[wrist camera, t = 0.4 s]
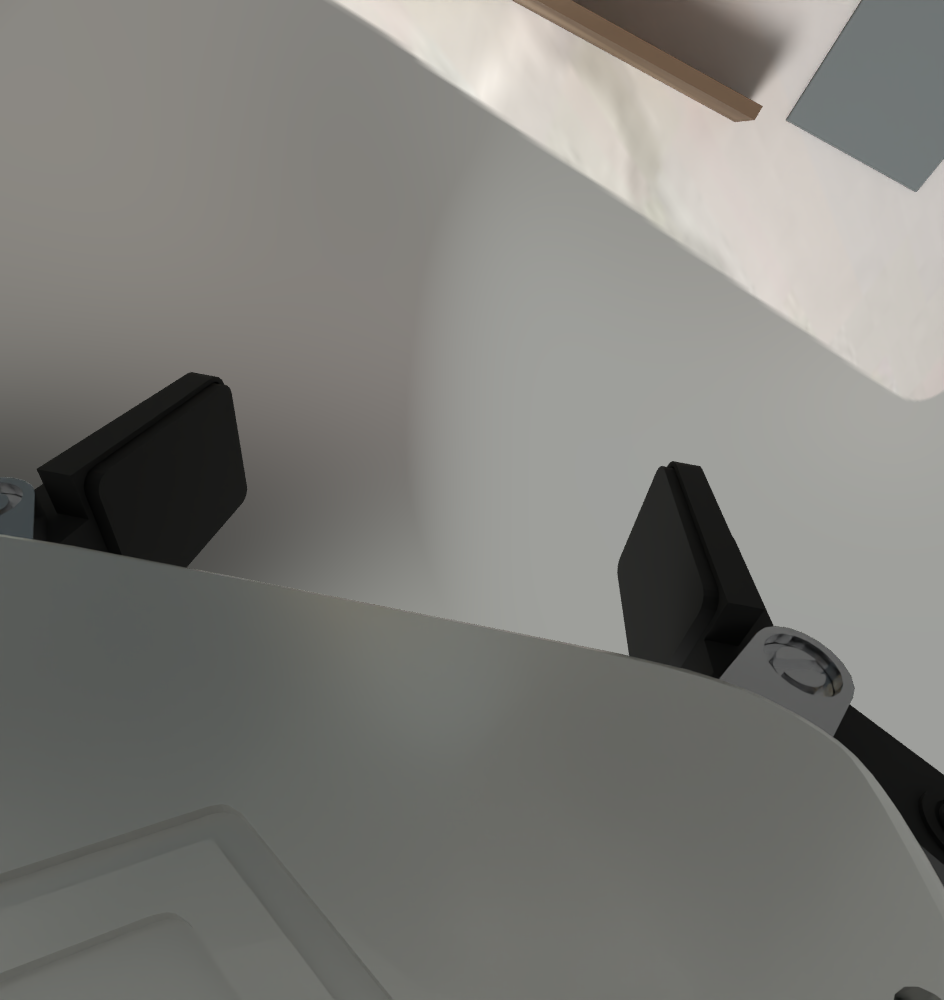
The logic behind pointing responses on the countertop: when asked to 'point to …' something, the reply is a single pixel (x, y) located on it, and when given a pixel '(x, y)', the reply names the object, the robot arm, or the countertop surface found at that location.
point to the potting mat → (883, 90)
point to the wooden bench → (645, 57)
